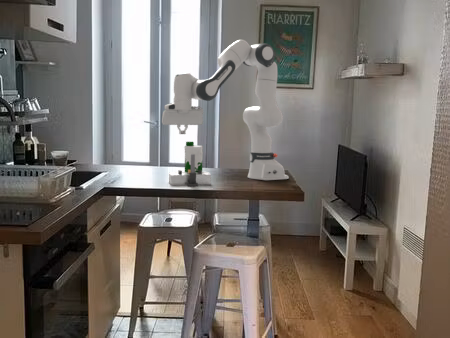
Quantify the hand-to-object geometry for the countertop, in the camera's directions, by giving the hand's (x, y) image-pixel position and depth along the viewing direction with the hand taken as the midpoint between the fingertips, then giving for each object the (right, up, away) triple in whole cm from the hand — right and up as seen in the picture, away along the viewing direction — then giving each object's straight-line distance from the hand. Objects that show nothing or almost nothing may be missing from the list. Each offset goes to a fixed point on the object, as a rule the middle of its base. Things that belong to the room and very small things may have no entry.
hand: (182, 134), depth 248 cm
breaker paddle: (+3, -19, +4) cm, 20 cm away
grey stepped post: (+5, -26, -2) cm, 26 cm away
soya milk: (+4, -23, +16) cm, 28 cm away
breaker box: (+3, -25, +5) cm, 25 cm away
